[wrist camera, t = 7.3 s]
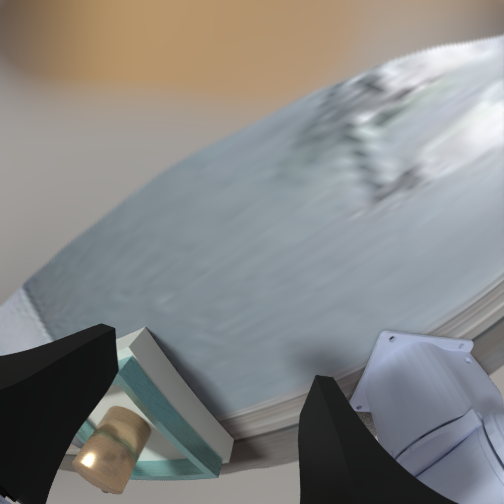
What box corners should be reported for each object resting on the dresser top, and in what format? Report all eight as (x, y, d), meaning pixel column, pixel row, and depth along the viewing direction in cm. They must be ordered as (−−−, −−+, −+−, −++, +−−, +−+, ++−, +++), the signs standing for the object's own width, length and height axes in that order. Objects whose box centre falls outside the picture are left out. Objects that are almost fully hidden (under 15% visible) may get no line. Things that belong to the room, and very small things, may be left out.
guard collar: (132, 355, 19) (118, 372, 17) (222, 459, 21) (218, 477, 19) (52, 382, 22) (40, 394, 19) (129, 465, 24) (122, 478, 22)
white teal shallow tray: (145, 327, 21) (118, 358, 17) (234, 439, 24) (226, 475, 20) (43, 369, 25) (21, 390, 21) (115, 452, 28) (102, 475, 24)
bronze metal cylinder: (151, 418, 21) (120, 480, 14) (150, 451, 22) (126, 505, 15) (105, 398, 21) (67, 452, 14) (110, 434, 22) (80, 483, 16)
